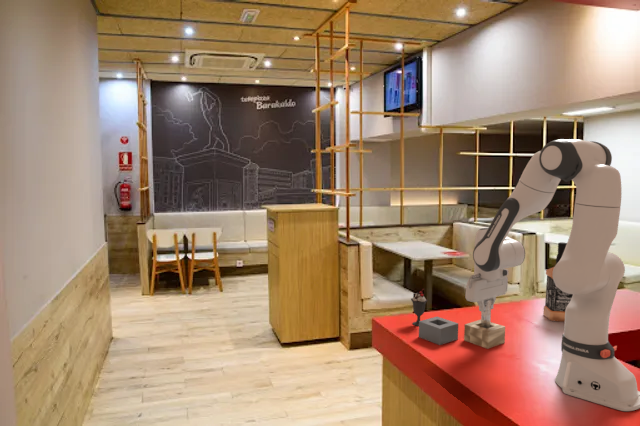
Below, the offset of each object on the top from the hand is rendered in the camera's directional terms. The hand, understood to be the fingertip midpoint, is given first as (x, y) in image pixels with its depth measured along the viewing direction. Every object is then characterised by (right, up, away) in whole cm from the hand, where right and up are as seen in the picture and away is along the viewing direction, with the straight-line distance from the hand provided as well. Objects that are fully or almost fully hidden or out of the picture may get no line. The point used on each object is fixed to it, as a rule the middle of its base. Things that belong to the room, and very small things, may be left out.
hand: (486, 310), depth 172 cm
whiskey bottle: (+41, -9, +29) cm, 51 cm away
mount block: (0, -12, +2) cm, 12 cm away
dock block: (-16, -11, +5) cm, 20 cm away
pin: (0, -8, +1) cm, 8 cm away
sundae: (-20, -10, +20) cm, 30 cm away
